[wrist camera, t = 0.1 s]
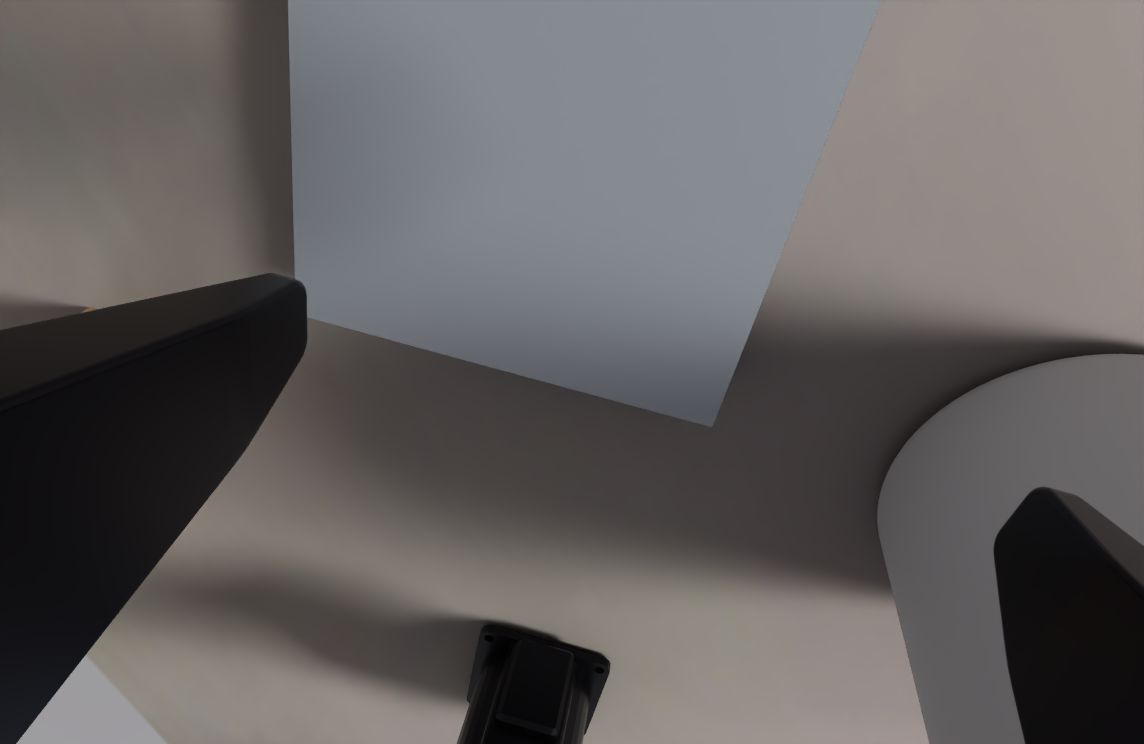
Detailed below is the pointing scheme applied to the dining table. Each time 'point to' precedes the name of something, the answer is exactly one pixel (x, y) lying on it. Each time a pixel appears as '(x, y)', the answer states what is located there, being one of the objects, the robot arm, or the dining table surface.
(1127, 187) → the dining table surface
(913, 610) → the cylinder vase
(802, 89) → the slate base
